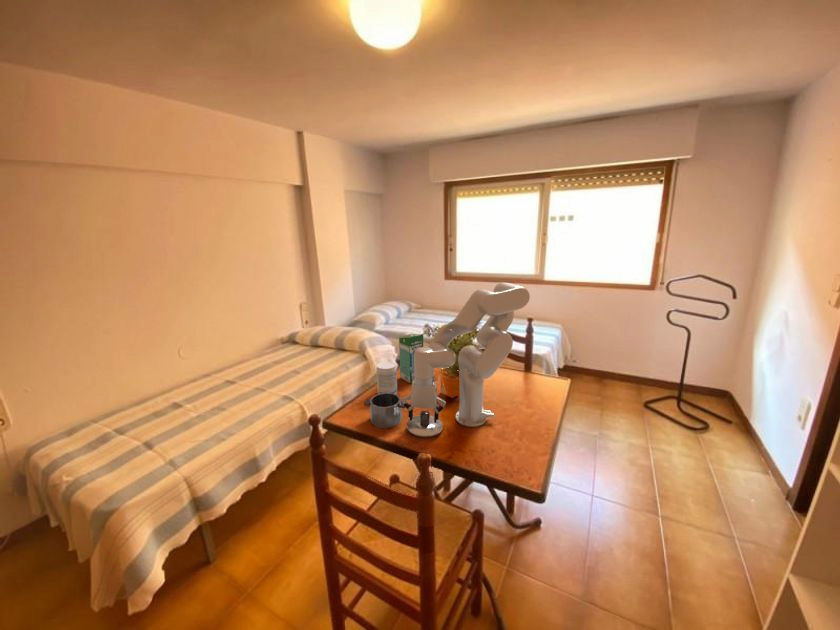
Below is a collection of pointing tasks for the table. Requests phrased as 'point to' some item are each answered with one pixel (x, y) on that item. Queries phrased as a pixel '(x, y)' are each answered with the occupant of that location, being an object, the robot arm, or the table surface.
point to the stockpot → (385, 410)
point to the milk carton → (408, 354)
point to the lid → (424, 425)
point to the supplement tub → (386, 377)
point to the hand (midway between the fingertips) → (423, 419)
